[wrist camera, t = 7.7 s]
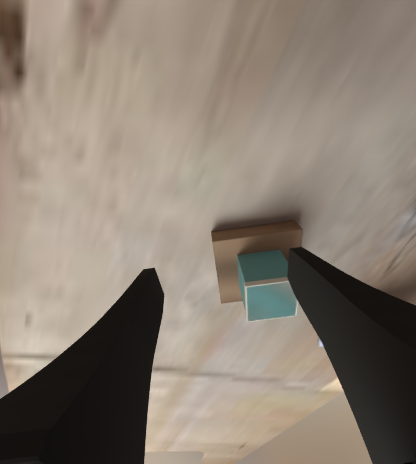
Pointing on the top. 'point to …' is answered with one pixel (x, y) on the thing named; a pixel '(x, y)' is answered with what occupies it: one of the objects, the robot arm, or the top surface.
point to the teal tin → (265, 286)
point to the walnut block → (249, 250)
